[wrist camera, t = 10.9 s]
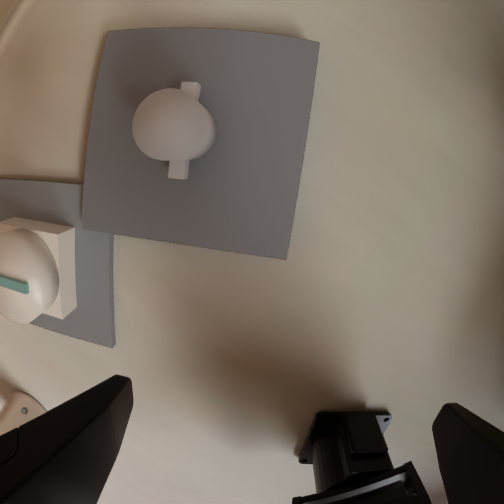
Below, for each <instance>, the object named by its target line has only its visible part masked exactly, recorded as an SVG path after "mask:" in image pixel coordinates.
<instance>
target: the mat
mask: <svg viewBox="0 0 504 504" xmlns="http://www.w3.org/2000/svg"><path fill="white" fill-rule="evenodd" d="M83 185H84V184H80V183H68V182H55V181H41V180H25V179H8V178H0V222H2V221H5V220H8V219H11V218H14V217H18V218H23V219H29V220H35V221H41V222H47V223H52V224H58V225H64V226H70V227H75V282H76V301H77V307H76V308H75V309H74V310H73V311H72V312H71V313H69V314H68V315H67V316H66V317H65V318H64V319H63V320H62V319H59V318H56V317H53V316H50V315H47V314H43V313H42V314H40V315H39V316H38V317H37V318H35V319H34V320H33V321H32V322H30V324H33V325H36V326H39V327H42V328H45V329H48V330H51V331H54V332H57V333H61V334H64V335H67V336H70V337H74V338H77V339H81V340H84V341H88V342H91V343H95V344H99V345H102V346H106V347H110V348H113V346H114V345H115V329H114V307H113V234H110V233H103V232H96V231H90V230H83V229H82V204H83Z"/></svg>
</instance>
